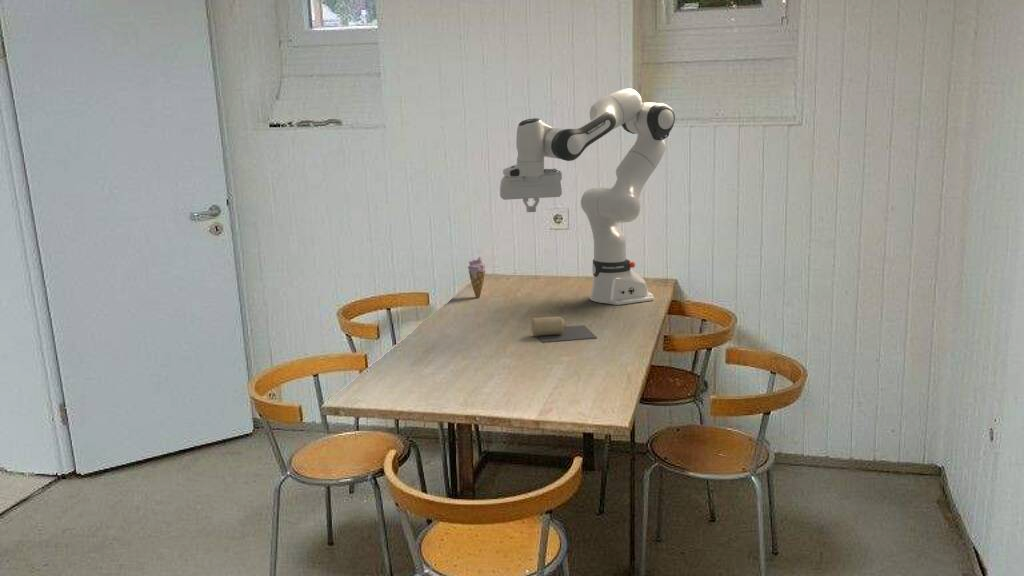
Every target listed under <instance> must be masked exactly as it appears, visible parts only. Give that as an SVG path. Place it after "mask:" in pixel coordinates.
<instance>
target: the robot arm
mask: <svg viewBox="0 0 1024 576" xmlns="http://www.w3.org/2000/svg"><path fill="white" fill-rule="evenodd" d="M675 116H676V114H675V111H674V109H673V108H672V107H671V106H669V105H667V104H666V103H662V102H658V103H657V102H652V101H651V102H650V101H649V102H647V101H646V102H643V100H642V97H641V95H640V94H639V92H638V91H636V90H635V89H633V88H622V89H621V90H617V91H614V92H612V93H609V94H608V95H605V96H604V97H602V98H600V99H598V100H597V101H596V102H595V103H593V104H592V105H591V107H590V110H589V119H590V120H589V121H588V122H587V123H585V124H583V125H581V126H580V127H578V128H558V127H557V128H556V127H555V126H550V125H548V124H547V123H545V122H544V121H543V120H542V119H541V118H537V117H535V118H527V119H524V120H522V121H520V122H519V123H518V125H517V128H516V140H515V141H516V150H517V158H516V164H513V165H510V166H509V167H506V168H504V169H503V170H502V174H503V175H504V176H502V178H501V181H500V185H499V186H500V187H499V197H500V198H501V199H502V200H504V201H506V200H522V202H523V204H524V205H525V207H526V210H525V211H526V213H536V212H537V206H538V204H539V203H540V199H541V198H542V199H544V198H548V199H549V198H560V197H561V196H562V193H563V192H562V191H563V190H562V189H563V188H562V182H561V181H562V179H563V176H562V174H563V173H562V171H561V170H560V169H557V168H545V157H546V158H551V159H557V160H563V161H566V162H572V161H575V160H576V159H578V158H579V157H580V156H581V155H582V154H583V153H584V152H585V150H586V149H587V148H588V147H589V146H590V145H592V144H593V143H595V142H596V141H597V140H599V139H601V138H602V137H604V136H605V135H606V134H609V133H610V132H611V131H613V130H614V129H616V128H619V127H622V128H623V129H624V130H625V131H626V132H628V133H630V134H635V135H637V137H636V141H635V143H634V145H632V147H631V148H630V149H629V151H628V152H627V154H626V155H625V156H624V157H623V159H622V160H621V162H620V163H619V165H618V166H617V167H616V170H615V175H616V181H615V183H614V185H613V186H612V187H610V188H607V187H603V186H597V187H592V188H588V189H587V190H586V191H584V193H582V196H581V199H580V206H581V207H580V208H581V210H583V212H584V214H585V215H586V217H587V219H588V221H589V225H590V229H591V232H592V237H593V259H592V266H591V267H592V269H591V270H592V286H591V291H590V296H589V300H590V301H593V302H594V303H595V302H596V303H599V304H608V305H615V306H620V305H626V304H628V305H629V304H634V303H644V302H648V301H649V302H651V301H653V300H654V299H655V296H654V294H653V293H651V292H650V291H648V286H647V283H646V281H645V279H644V278H643V277H641V276H640V275H638V274H637V273H636V272H635V271H633V270H632V269H633V268H635V267H636V263H635V262H634V261H631V260H629V259H626V252H627V251H626V249H627V248H626V246H627V243H626V241H627V240H626V235H625V234H624V233H623V232H622V230H621V228H620V225H619V223H620V224H625V223H631V222H633V221H634V220H635V221H636V219H637V218H638V216H639V215H640V211H641V202H640V195H641V192H642V190H643V188H644V185H646V183H647V181H649V178H650V177H651V176H652V174H653V172H654V171H655V169H656V168H657V167H658V165H659V164H660V162H661V161H662V160H661V159H662V158H663V156H664V154H665V151H666V148H667V146H666V142H665V139H666V138H668V137H669V136H670V133H671V131H672V129H673V127H674V125H675V120H676V117H675ZM529 199H533V201H534V204H533V205H529V203H528V202H529ZM631 268H632V269H631Z"/></svg>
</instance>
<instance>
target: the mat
mask: <svg viewBox="0 0 1024 576" xmlns="http://www.w3.org/2000/svg"><path fill="white" fill-rule="evenodd" d="M536 337H537V338H538V340H540V342H541V343H543V344H544V343H555V342H557V343H558V342H567V341H577V340H578V341H580V340H581V341H582V340H591V339H593V340H594V339H598V336H596V335H595V334H594V333H593V332H592V331H591V330H590V329H589V328H588V327H587V326H586V325H582V324H581V325H568V326H567V325H566V327H565V329H564V331H563V333H562V334H560V335H545V336H536Z"/></svg>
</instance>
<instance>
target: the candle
mask: <svg viewBox="0 0 1024 576" xmlns="http://www.w3.org/2000/svg"><path fill="white" fill-rule="evenodd" d="M565 327H567V324H566V322H565V319H564V318H562V317H561V316H545V317H533V318H532V319H531V332H532V336H533V337H537V336H545V335H560V334H562V333H563V331H564V329H565Z"/></svg>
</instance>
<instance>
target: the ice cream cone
mask: <svg viewBox="0 0 1024 576" xmlns="http://www.w3.org/2000/svg"><path fill="white" fill-rule="evenodd" d="M468 263H469V266H467V269H468V274H469V280H470V282H471V286H472V289H473V292H474V295H475V299H480V298H481V295H482V294H481V293H482V291H483V285H484V280H485V275H486V269H485V268H486V267H485V266H486V263H485V262H484V261H483V258H482V257H481V256H479V257H478V258H477V259H473V260H469V262H468Z"/></svg>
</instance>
